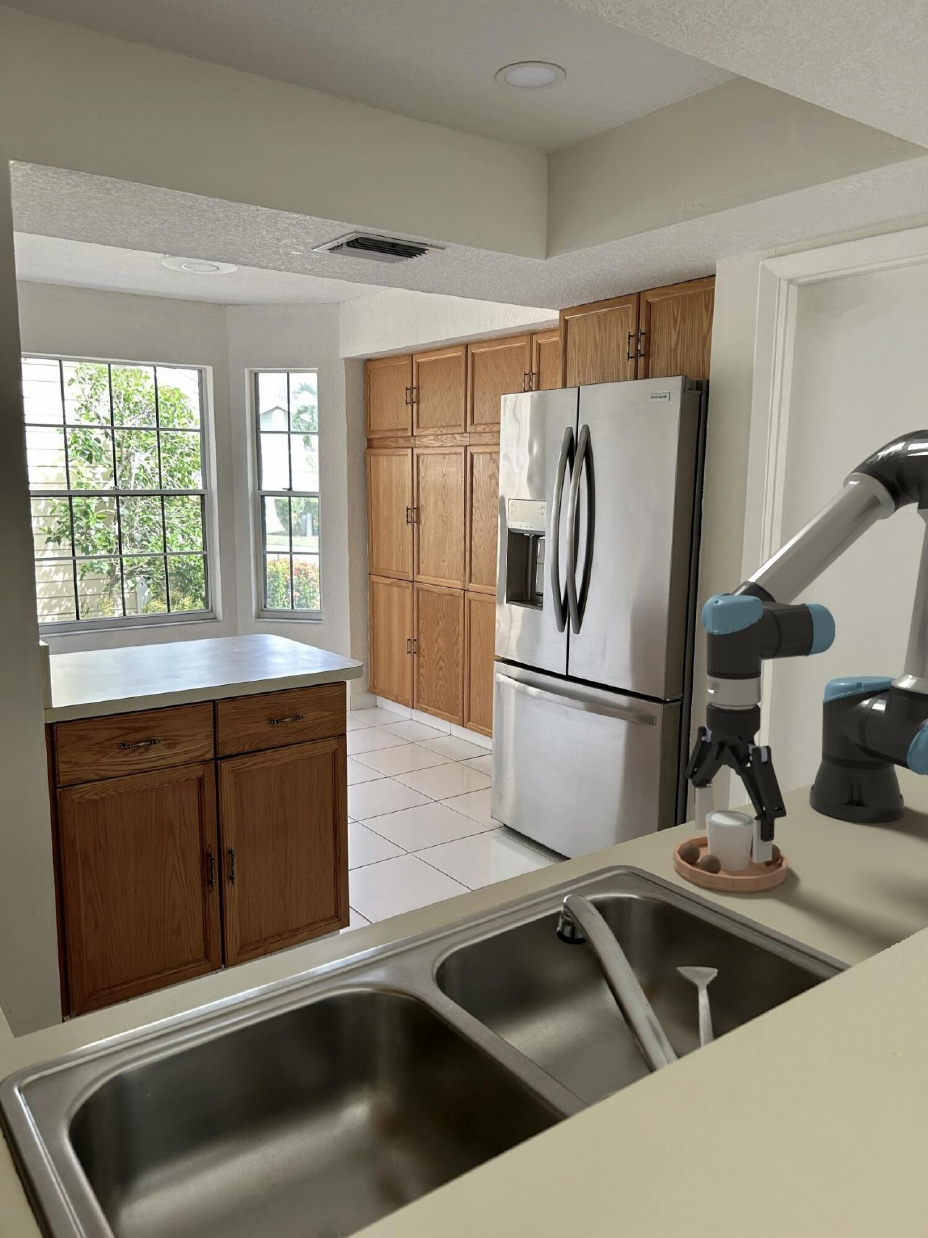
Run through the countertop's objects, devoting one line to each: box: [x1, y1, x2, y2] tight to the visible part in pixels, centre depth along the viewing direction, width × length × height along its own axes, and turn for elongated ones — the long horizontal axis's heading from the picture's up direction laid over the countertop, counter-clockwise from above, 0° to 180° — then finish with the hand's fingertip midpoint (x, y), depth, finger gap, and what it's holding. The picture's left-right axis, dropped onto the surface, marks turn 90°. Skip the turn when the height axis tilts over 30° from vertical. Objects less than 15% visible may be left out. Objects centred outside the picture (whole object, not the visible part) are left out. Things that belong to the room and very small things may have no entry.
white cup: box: [706, 809, 753, 871], centre depth 134 cm, size 7×7×7 cm
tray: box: [672, 834, 789, 894], centre depth 135 cm, size 16×16×2 cm
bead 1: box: [680, 843, 700, 864], centre depth 135 cm, size 3×3×3 cm
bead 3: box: [765, 843, 781, 864], centre depth 134 cm, size 3×3×3 cm
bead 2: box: [699, 855, 721, 874], centre depth 130 cm, size 3×3×3 cm
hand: (731, 843), depth 134 cm, fingers open, 13 cm apart
